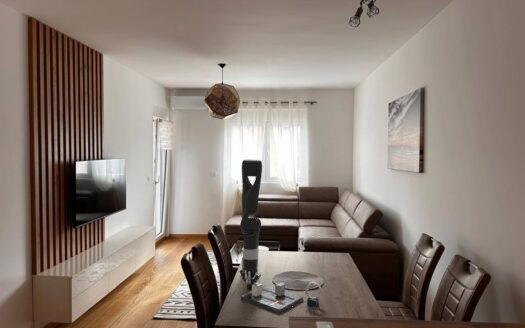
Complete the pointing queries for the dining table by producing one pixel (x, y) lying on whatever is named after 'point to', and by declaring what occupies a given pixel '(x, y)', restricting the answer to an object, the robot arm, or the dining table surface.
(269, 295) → the panel
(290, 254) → the dining table surface
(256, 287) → the fader white
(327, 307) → the dining table surface
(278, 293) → the fader grey
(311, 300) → the watch
